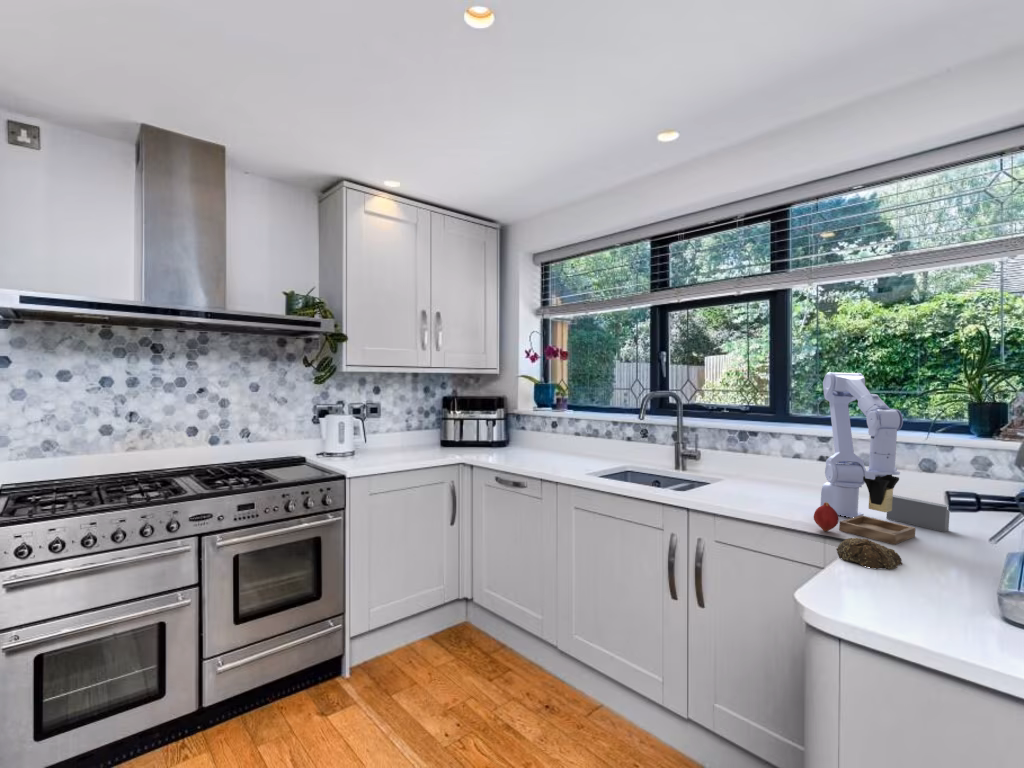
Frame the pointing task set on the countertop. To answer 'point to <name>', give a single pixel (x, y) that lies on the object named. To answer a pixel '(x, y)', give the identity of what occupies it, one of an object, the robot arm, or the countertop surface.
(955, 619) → the countertop surface
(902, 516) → the wall unit
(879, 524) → the tray
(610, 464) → the countertop surface
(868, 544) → the bread roll
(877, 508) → the brass block
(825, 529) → the onion
